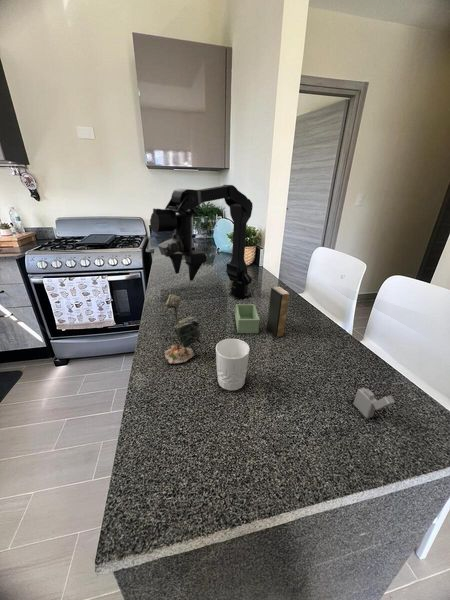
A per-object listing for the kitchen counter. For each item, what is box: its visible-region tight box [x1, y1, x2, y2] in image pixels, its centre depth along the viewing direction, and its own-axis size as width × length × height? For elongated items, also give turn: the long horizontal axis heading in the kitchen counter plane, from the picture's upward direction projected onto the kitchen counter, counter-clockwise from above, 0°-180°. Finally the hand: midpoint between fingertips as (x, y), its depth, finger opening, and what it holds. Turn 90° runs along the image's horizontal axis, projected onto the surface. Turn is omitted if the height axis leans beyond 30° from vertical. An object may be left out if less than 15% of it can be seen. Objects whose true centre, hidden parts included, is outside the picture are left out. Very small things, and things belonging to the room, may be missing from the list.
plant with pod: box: [163, 293, 203, 365], centre depth 67 cm, size 8×11×20 cm
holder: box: [234, 303, 261, 334], centre depth 86 cm, size 11×7×5 cm, turn 2°
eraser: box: [266, 286, 290, 338], centre depth 80 cm, size 3×6×15 cm, turn 19°
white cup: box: [215, 338, 251, 391], centre depth 60 cm, size 8×8×10 cm
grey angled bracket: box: [352, 387, 396, 419], centre depth 52 cm, size 7×2×8 cm, turn 15°
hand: (184, 276), depth 87 cm, fingers open, 9 cm apart
